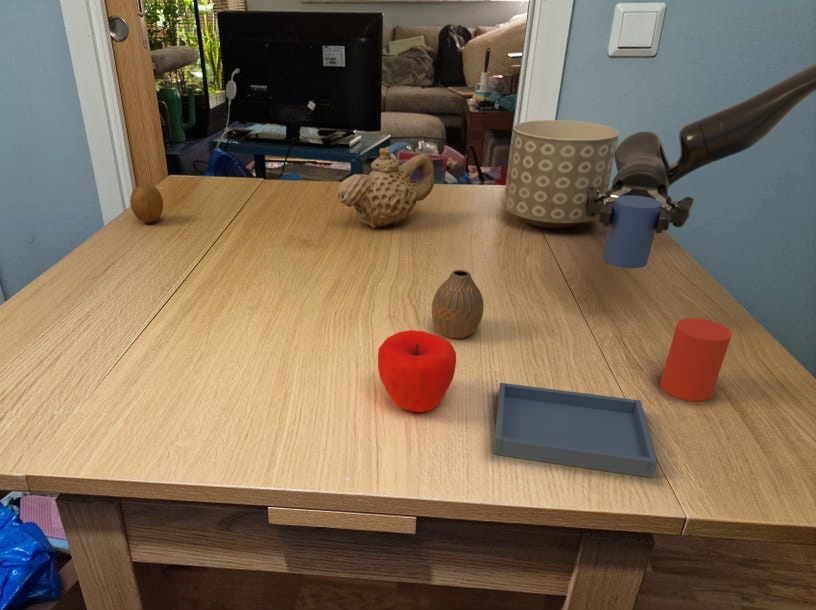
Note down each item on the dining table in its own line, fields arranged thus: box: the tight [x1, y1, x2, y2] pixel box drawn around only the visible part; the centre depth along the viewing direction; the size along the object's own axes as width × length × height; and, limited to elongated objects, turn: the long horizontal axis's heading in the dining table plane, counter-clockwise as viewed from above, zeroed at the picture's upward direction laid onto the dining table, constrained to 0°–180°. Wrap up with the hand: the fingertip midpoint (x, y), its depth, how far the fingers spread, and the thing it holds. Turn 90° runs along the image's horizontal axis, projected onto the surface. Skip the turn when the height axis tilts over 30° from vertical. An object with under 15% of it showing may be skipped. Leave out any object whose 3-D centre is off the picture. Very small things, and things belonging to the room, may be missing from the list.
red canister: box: [659, 317, 733, 402], centre depth 77 cm, size 6×6×8 cm
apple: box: [377, 329, 457, 413], centre depth 74 cm, size 9×9×8 cm
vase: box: [431, 269, 485, 339], centre depth 89 cm, size 7×7×9 cm
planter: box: [503, 119, 620, 230], centre depth 129 cm, size 19×19×18 cm
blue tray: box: [493, 382, 658, 479], centre depth 70 cm, size 15×11×2 cm
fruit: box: [129, 182, 164, 225], centre depth 131 cm, size 6×6×8 cm
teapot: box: [337, 146, 436, 229], centre depth 129 cm, size 21×12×15 cm, turn 118°
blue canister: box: [601, 195, 662, 269], centre depth 86 cm, size 6×6×8 cm
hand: (633, 222), depth 83 cm, fingers closed on blue canister, 5 cm apart
